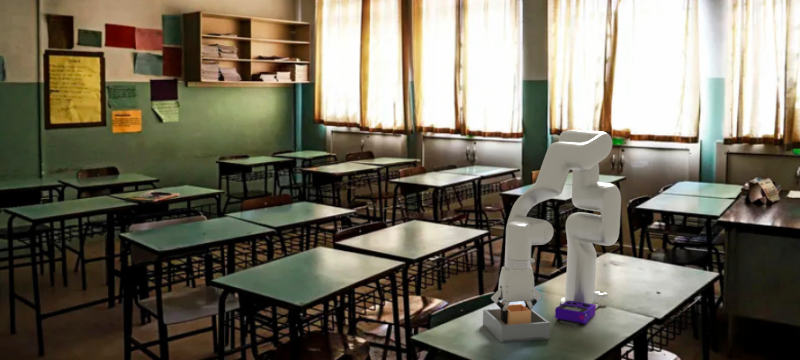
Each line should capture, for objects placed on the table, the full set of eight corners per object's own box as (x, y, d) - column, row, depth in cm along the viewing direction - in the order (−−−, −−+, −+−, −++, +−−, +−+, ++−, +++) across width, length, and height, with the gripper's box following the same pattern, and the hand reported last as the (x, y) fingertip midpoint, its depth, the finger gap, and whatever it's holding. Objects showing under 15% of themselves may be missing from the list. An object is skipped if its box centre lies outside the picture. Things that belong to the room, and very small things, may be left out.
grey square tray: (527, 321, 213) (528, 306, 212) (549, 338, 198) (549, 322, 198) (482, 325, 209) (483, 309, 208) (501, 343, 195) (502, 326, 194)
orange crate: (521, 319, 207) (522, 303, 207) (530, 327, 201) (531, 310, 200) (501, 321, 206) (501, 305, 205) (509, 328, 199) (510, 312, 199)
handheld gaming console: (596, 303, 221) (584, 311, 208) (595, 319, 221) (583, 328, 208) (568, 298, 226) (555, 306, 213) (567, 314, 226) (554, 322, 213)
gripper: (539, 258, 206) (536, 315, 209) (485, 261, 202) (484, 319, 205) (550, 265, 199) (547, 323, 202) (495, 268, 195) (493, 328, 198)
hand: (515, 320), depth 203 cm, fingers closed on orange crate, 6 cm apart
